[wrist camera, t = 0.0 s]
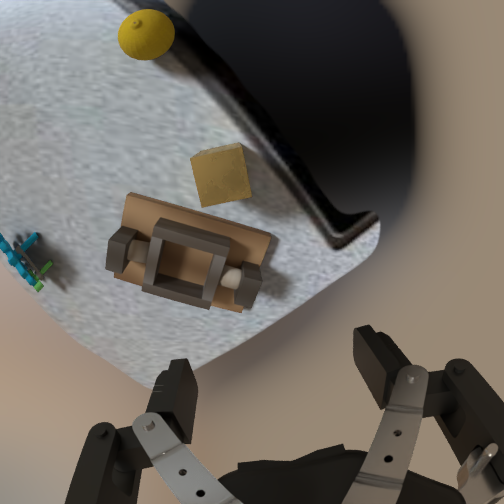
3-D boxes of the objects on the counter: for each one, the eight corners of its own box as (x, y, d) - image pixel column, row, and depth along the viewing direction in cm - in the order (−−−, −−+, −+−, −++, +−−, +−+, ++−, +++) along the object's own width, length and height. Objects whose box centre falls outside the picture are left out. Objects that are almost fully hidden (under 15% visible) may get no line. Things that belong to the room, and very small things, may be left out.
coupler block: (201, 150, 30) (189, 158, 21) (238, 142, 30) (241, 146, 21) (209, 186, 31) (201, 207, 23) (246, 178, 31) (252, 197, 23)
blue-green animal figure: (-7, 235, 29) (-15, 236, 22) (18, 209, 32) (17, 204, 25) (33, 288, 35) (37, 302, 28) (57, 263, 38) (66, 270, 31)
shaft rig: (130, 192, 31) (111, 205, 25) (269, 232, 34) (277, 253, 29) (117, 271, 35) (101, 295, 29) (240, 306, 38) (242, 334, 33)
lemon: (187, 28, 23) (174, 0, 16) (170, 70, 25) (152, 52, 18) (142, 23, 22) (119, -3, 15) (126, 63, 24) (97, 48, 17)
